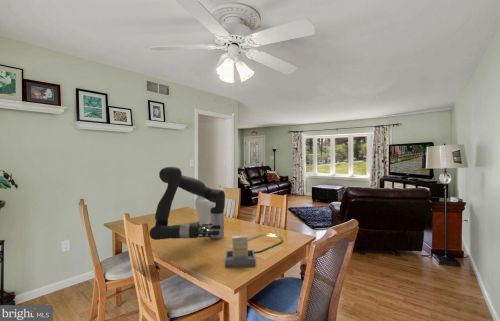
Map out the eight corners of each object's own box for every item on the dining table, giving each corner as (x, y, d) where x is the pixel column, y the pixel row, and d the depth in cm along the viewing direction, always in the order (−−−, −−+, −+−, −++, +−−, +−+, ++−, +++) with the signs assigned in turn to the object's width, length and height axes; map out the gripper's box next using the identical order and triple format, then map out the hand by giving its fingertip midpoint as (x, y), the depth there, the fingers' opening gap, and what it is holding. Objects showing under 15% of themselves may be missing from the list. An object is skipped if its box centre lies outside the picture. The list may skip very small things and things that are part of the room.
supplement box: (247, 257, 134) (247, 234, 133) (247, 261, 129) (247, 237, 129) (232, 257, 133) (232, 234, 133) (232, 261, 128) (232, 237, 128)
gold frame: (288, 240, 161) (288, 238, 161) (251, 257, 137) (251, 254, 137) (267, 233, 175) (267, 231, 175) (230, 247, 150) (230, 245, 150)
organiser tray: (226, 256, 136) (226, 250, 136) (253, 255, 137) (253, 249, 137) (225, 266, 125) (225, 260, 125) (255, 265, 126) (255, 259, 126)
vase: (200, 228, 187) (199, 191, 186) (192, 224, 198) (191, 189, 197) (216, 224, 196) (216, 189, 195) (208, 220, 207) (207, 187, 206)
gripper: (186, 228, 121) (218, 227, 123) (191, 220, 136) (220, 218, 137) (187, 243, 122) (219, 241, 123) (192, 233, 136) (220, 231, 137)
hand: (219, 229), depth 130 cm, fingers open, 8 cm apart
